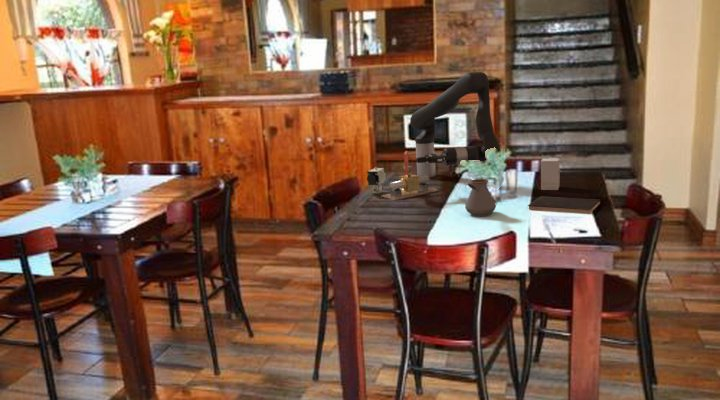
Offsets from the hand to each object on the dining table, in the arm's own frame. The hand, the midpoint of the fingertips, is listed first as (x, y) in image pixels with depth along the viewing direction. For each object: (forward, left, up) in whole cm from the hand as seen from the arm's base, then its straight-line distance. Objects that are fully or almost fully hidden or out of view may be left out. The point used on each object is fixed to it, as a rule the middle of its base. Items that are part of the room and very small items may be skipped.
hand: (417, 160), depth 268 cm
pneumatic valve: (-14, -19, -17) cm, 29 cm away
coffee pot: (+36, +23, -17) cm, 46 cm away
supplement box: (-8, +56, -17) cm, 59 cm away
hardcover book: (+26, +56, -17) cm, 64 cm away
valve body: (-9, -5, -16) cm, 19 cm away
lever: (-3, -5, -6) cm, 8 cm away
